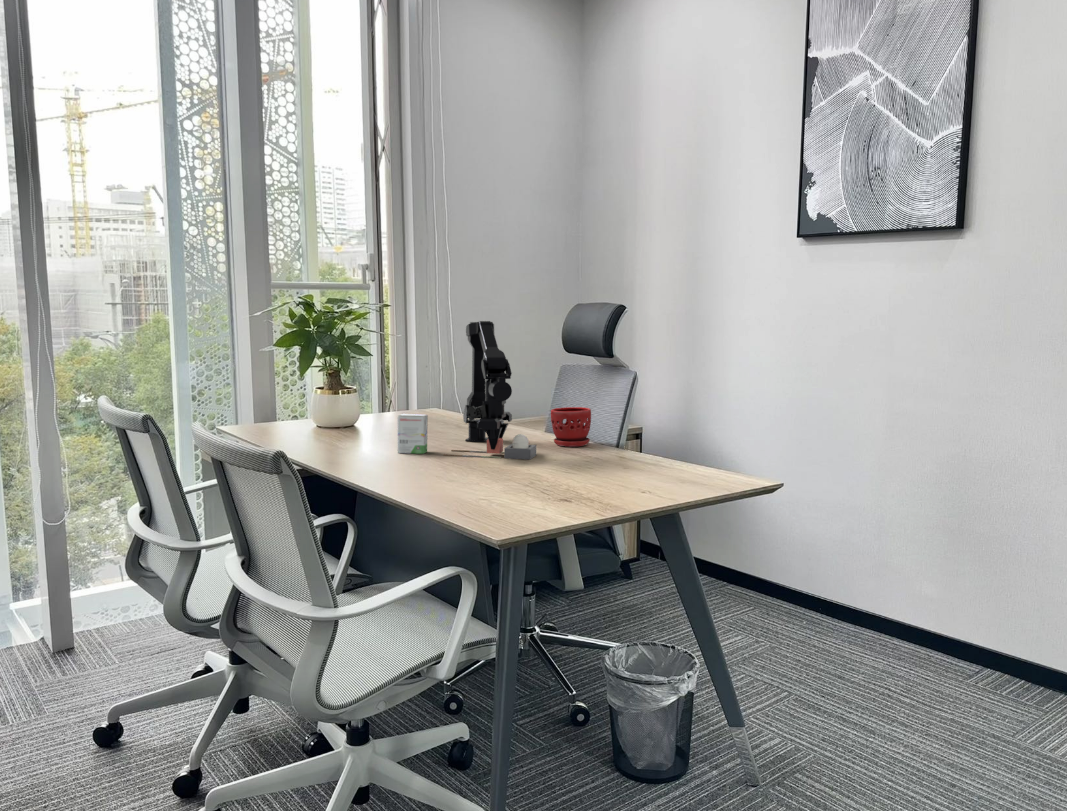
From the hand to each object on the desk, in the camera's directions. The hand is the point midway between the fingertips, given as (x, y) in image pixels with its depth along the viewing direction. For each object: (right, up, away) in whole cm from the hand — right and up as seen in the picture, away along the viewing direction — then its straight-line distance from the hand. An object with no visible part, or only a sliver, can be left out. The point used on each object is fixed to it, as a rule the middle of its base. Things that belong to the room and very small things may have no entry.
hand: (494, 448), depth 262 cm
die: (0, -1, 0) cm, 1 cm away
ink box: (-26, -2, +5) cm, 26 cm away
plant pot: (+24, 0, +19) cm, 31 cm away
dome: (+8, -2, -2) cm, 8 cm away
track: (-6, -2, +2) cm, 6 cm away
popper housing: (+8, -2, -1) cm, 8 cm away
